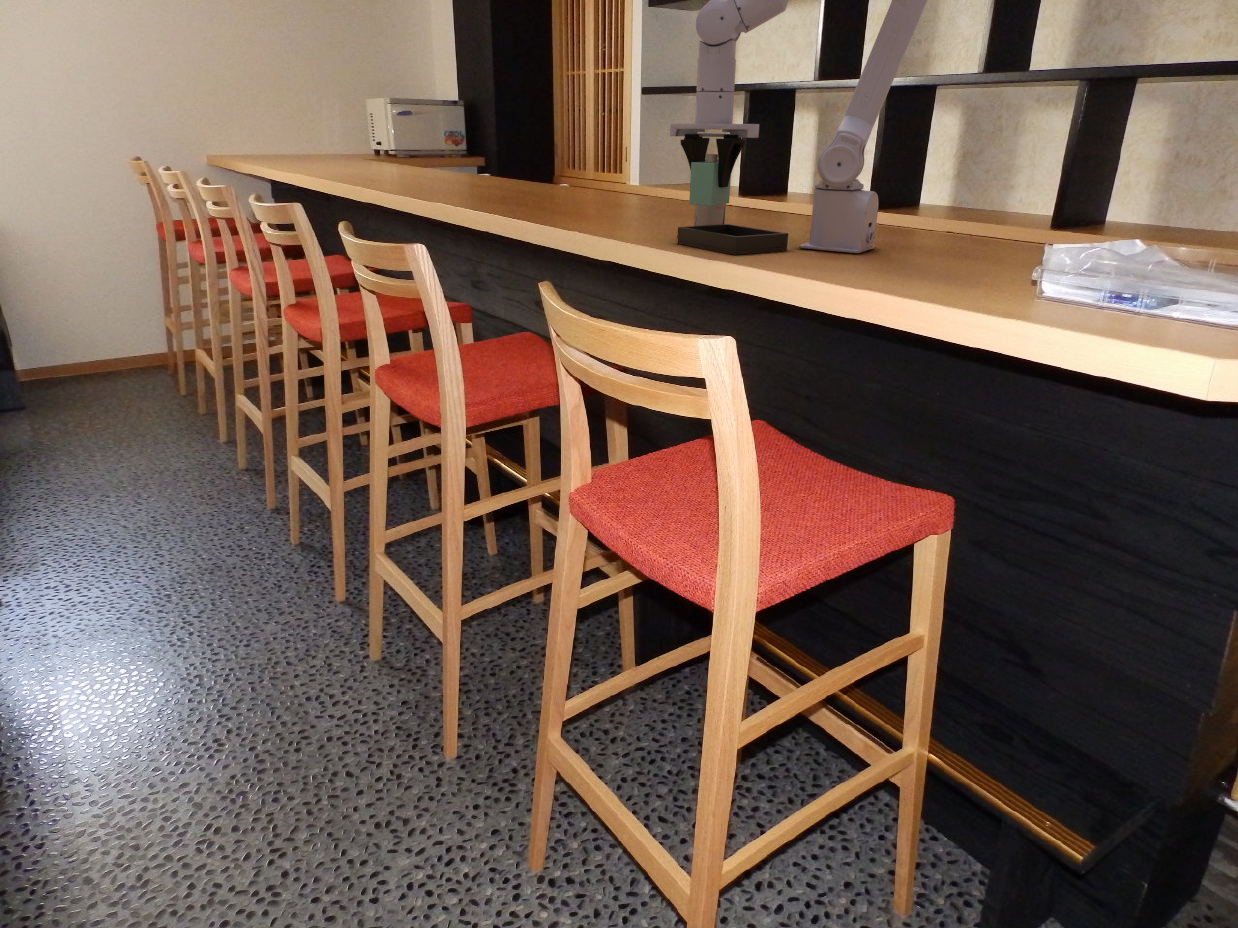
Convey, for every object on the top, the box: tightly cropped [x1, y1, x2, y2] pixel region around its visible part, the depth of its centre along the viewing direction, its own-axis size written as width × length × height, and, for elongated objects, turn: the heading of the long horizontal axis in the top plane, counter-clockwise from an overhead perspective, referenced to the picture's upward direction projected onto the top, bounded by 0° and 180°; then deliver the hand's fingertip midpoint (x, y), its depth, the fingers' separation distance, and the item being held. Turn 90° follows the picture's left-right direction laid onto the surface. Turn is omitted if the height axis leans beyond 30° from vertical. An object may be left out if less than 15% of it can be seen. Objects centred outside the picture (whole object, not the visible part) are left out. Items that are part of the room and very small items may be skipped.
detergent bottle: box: [688, 153, 732, 206], centre depth 132 cm, size 4×6×7 cm, turn 145°
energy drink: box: [693, 159, 727, 226], centre depth 146 cm, size 5×5×12 cm
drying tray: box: [676, 223, 789, 256], centre depth 130 cm, size 14×10×3 cm
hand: (710, 186), depth 133 cm, fingers closed on detergent bottle, 4 cm apart
